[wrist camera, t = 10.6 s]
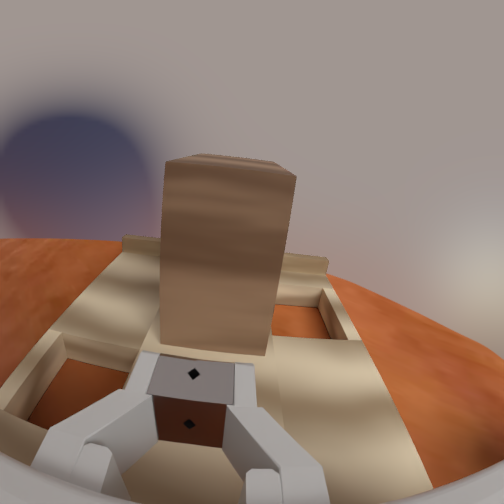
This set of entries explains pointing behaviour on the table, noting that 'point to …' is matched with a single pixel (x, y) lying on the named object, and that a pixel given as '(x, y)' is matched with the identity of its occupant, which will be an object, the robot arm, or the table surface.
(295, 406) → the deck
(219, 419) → the robot arm
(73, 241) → the table surface
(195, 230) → the block
